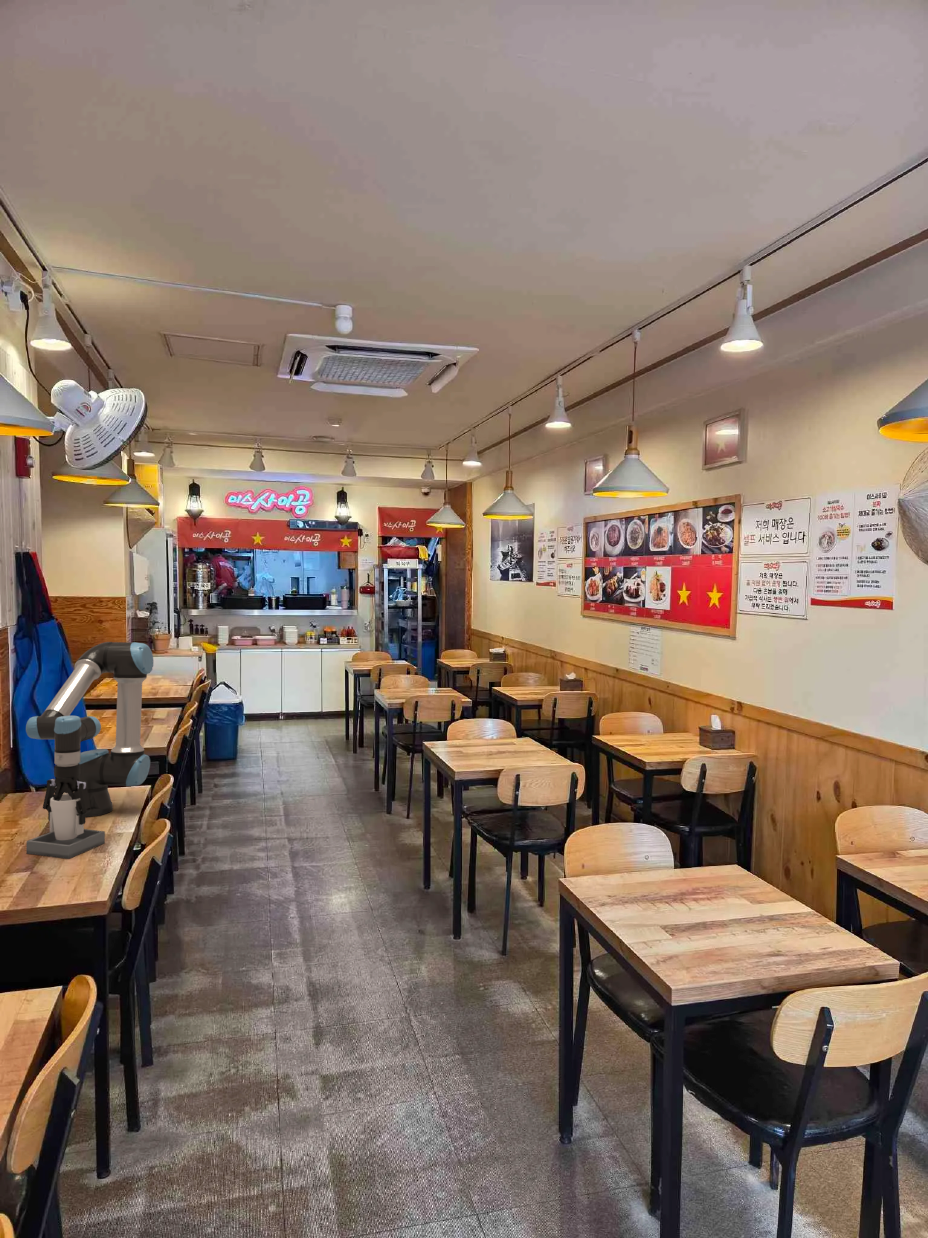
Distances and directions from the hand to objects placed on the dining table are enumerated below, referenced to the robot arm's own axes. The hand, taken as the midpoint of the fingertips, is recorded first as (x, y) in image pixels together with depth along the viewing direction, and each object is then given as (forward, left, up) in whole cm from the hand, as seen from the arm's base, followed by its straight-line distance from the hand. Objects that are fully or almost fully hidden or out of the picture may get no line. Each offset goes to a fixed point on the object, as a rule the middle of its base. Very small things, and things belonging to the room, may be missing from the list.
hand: (66, 832), depth 247 cm
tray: (0, 0, -5) cm, 5 cm away
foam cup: (0, 0, -2) cm, 2 cm away
